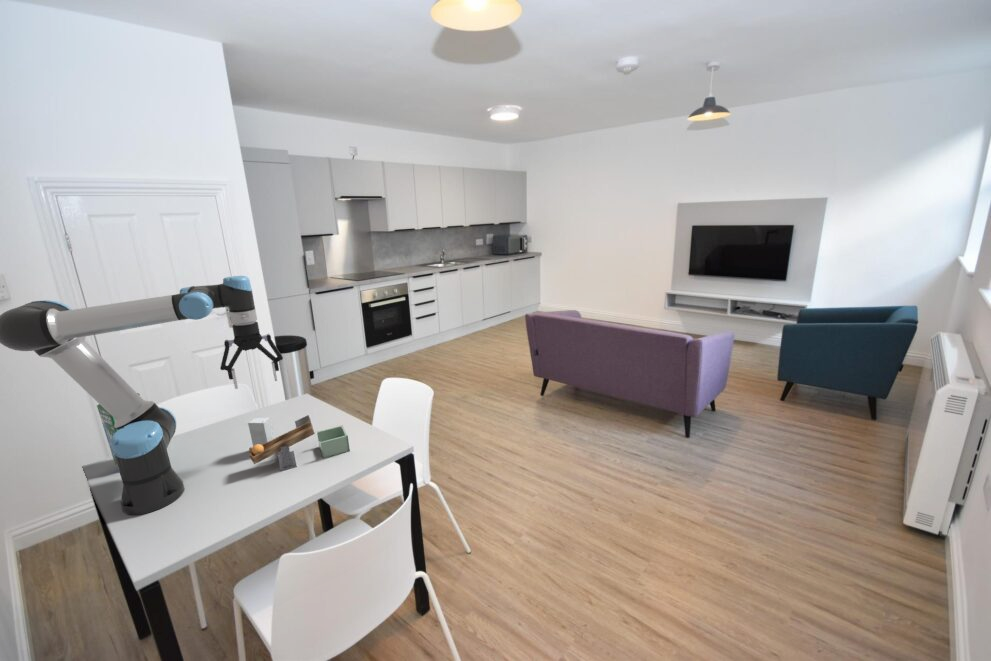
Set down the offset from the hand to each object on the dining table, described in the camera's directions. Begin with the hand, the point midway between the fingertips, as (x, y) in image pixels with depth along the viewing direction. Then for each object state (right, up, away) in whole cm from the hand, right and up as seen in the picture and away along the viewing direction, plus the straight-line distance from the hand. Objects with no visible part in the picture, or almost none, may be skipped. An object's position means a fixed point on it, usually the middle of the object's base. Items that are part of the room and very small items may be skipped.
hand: (256, 383), depth 150 cm
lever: (+9, -19, +1) cm, 21 cm away
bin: (+25, -24, +6) cm, 35 cm away
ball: (+4, -21, -7) cm, 22 cm away
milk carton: (-45, -28, +4) cm, 53 cm away
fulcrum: (+11, -27, -1) cm, 29 cm away
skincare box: (-1, -25, +7) cm, 26 cm away
